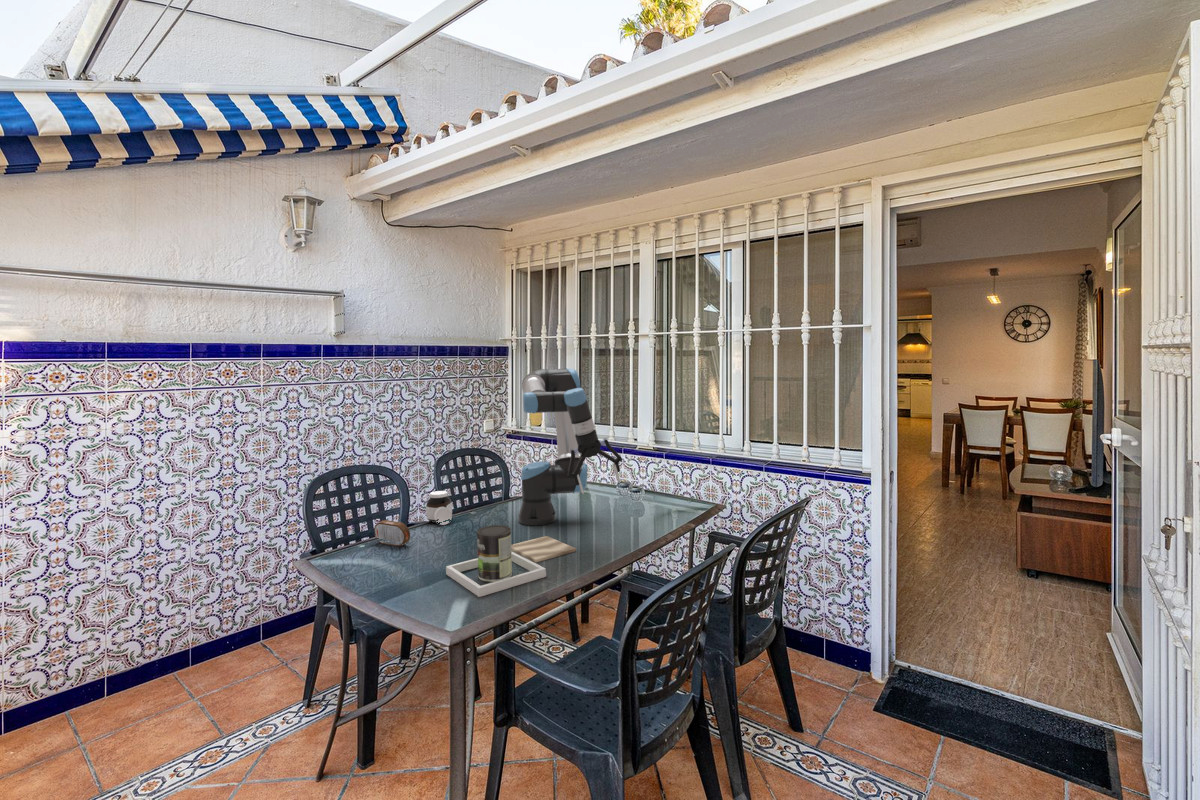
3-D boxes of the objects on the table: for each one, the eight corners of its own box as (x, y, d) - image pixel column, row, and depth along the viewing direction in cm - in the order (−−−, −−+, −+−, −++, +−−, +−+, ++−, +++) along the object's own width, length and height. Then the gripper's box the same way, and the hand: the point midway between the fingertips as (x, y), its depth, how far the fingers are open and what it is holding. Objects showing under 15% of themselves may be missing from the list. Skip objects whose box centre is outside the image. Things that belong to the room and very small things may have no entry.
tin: (411, 545, 200) (410, 522, 200) (404, 548, 198) (403, 525, 197) (379, 540, 207) (378, 518, 206) (373, 543, 204) (371, 520, 203)
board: (507, 548, 195) (507, 545, 195) (546, 538, 205) (546, 535, 205) (535, 562, 181) (535, 559, 181) (575, 551, 191) (575, 548, 191)
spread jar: (440, 516, 237) (439, 489, 236) (462, 519, 232) (461, 491, 231) (420, 524, 227) (419, 495, 226) (442, 527, 222) (441, 498, 221)
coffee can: (482, 584, 164) (480, 537, 163) (474, 572, 174) (473, 528, 173) (516, 578, 169) (515, 532, 168) (507, 567, 178) (506, 523, 177)
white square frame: (446, 574, 173) (445, 566, 173) (509, 557, 187) (509, 549, 186) (479, 597, 156) (478, 588, 156) (545, 576, 170) (545, 568, 169)
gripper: (552, 444, 194) (568, 500, 198) (620, 423, 197) (635, 479, 201) (550, 439, 201) (566, 493, 205) (616, 419, 204) (630, 472, 208)
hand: (600, 486), depth 203 cm, fingers open, 13 cm apart
